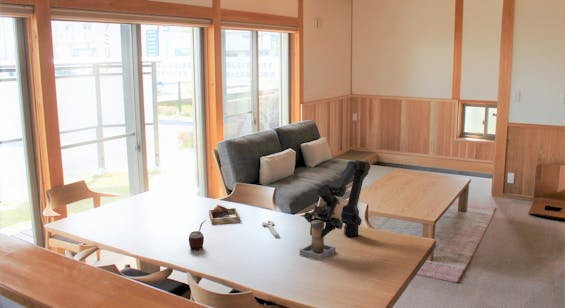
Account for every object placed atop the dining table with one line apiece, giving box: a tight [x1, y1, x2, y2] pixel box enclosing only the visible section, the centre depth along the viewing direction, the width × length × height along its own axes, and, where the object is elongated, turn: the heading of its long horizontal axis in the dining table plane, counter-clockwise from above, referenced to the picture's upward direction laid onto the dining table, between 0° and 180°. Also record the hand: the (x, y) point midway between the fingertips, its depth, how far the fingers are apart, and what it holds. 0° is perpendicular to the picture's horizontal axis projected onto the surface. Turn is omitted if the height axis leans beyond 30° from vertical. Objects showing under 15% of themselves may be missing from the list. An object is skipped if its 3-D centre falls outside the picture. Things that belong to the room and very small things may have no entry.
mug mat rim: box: [208, 207, 241, 225], centre depth 301 cm, size 16×18×3 cm
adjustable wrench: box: [261, 220, 280, 239], centre depth 280 cm, size 25×6×2 cm, turn 9°
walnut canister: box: [310, 220, 325, 252], centre depth 245 cm, size 6×6×14 cm
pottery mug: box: [212, 204, 230, 218], centre depth 302 cm, size 12×10×8 cm
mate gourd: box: [188, 219, 207, 252], centre depth 253 cm, size 8×8×15 cm
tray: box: [299, 243, 336, 261], centre depth 247 cm, size 13×12×2 cm
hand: (316, 236), depth 244 cm, fingers closed on walnut canister, 6 cm apart
